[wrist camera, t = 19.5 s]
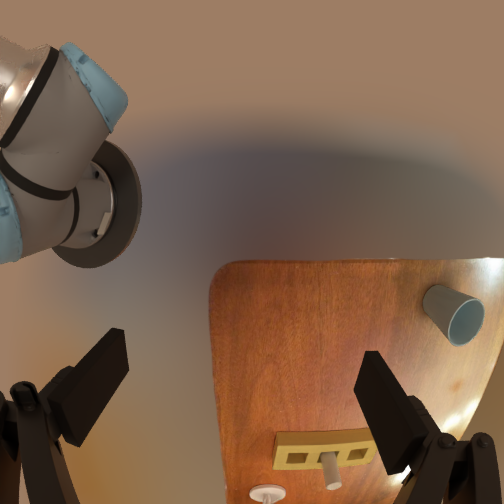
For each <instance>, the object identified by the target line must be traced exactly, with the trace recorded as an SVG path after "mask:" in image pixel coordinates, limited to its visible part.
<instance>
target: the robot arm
mask: <svg viewBox="0 0 504 504" xmlns="http://www.w3.org/2000/svg"><path fill="white" fill-rule="evenodd" d="M127 105H128V98H127V95H126V93H125V92H124V90H123V89H122V88H121V87H120V86H119V85H118V84H117V83H116V82H115V81H114V80H113V79H112V78H111V77H110V76H109V75H108V74H107V73H106V72H105V71H104V70H103V69H102V68H101V67H100V66H99V65H98V64H96V63H95V62H94V61H93V60H92V59H90V58H89V57H88V56H87V55H86V54H85V53H84V52H83V51H82V50H81V49H79V48H78V47H77V46H76V45H74V44H73V43H71V42H68V43H66V44H65V45H63V46H61V47H60V50H59V51H58V50H56V49H55V48H53V47H51V46H50V45H48V44H46V45H43V46H39V47H36V48H34V49H31V50H27V49H25V48H23V47H21V46H19V45H17V44H16V43H14V42H12V41H10V40H8V39H6V38H4V37H2V36H0V147H1V150H0V264H4V263H7V262H16V261H18V260H19V259H21V258H24V257H26V256H29V255H32V254H34V253H37V252H40V251H42V250H45V249H48V248H51V247H54V246H57V245H60V246H65V247H70V248H74V249H83V248H87V247H89V246H92V245H95V244H97V243H98V242H100V241H101V240H102V239H103V238H104V237H105V236H106V235H107V234H108V232H109V231H110V229H111V227H112V225H113V223H114V220H115V216H116V211H117V193H116V188H115V185H114V182H113V180H112V178H111V176H110V174H109V173H108V171H107V170H106V169H105V168H104V167H103V166H102V165H101V164H99V163H97V162H95V161H93V160H92V158H93V157H94V155H95V154H96V152H97V151H98V149H99V148H100V146H101V145H102V143H103V142H104V140H105V139H106V138H107V136H108V135H109V133H110V134H111V133H112V132H113V128H114V126H115V125H116V123H117V121H118V120H119V119H120V117H121V116H122V114H123V113H124V112H125V110H126V108H127ZM128 371H129V365H128V358H127V351H126V343H125V335H124V330H121V329H117V328H111V329H110V330H109V331H108V332H107V333H106V334H105V335H104V336H103V337H102V338H101V339H100V341H98V343H97V344H96V345H95V346H94V347H93V348H92V349H91V350H90V351H89V352H88V353H87V354H86V355H85V356H84V357H83V358H82V359H81V360H80V361H79V363H78V364H77V365H76V366H75V367H71V366H67V367H65V368H63V369H62V370H60V371H59V372H58V373H57V374H56V375H55V377H53V379H52V380H51V382H49V383H48V384H47V385H46V386H45V387H44V388H43V389H42V390H41V391H40V392H39V393H37V390H36V387H35V385H34V384H32V383H31V382H27V381H22V382H18V383H16V384H14V385H13V386H12V387H11V389H10V394H11V396H12V399H13V401H14V402H13V401H8V400H6V399H5V397H4V395H3V393H2V392H1V391H0V504H19V484H20V471H21V462H22V468H23V474H24V479H25V484H26V489H27V493H28V498H29V501H30V504H80V502H79V500H78V498H77V495H76V492H75V489H74V487H73V484H72V481H71V478H70V475H69V472H68V469H67V465H66V462H65V459H64V455H63V452H62V448H61V444H60V442H59V440H58V438H59V437H60V436H61V434H62V435H63V437H64V439H65V441H66V442H67V443H69V444H72V445H74V446H77V447H80V446H81V445H82V443H83V441H84V440H85V438H86V437H87V435H88V433H89V431H90V430H91V429H92V427H93V425H94V424H95V422H96V421H97V419H98V417H99V416H100V414H101V413H102V411H103V410H104V408H105V406H106V405H107V403H108V402H109V400H110V399H111V397H112V396H113V394H114V393H115V391H116V390H117V388H118V386H119V385H120V383H121V382H122V380H123V379H124V377H125V376H126V374H127V373H128ZM354 393H355V395H356V397H357V400H358V402H359V404H360V407H361V409H362V412H363V414H364V416H365V419H366V421H367V424H368V426H369V429H370V431H371V434H372V436H373V439H374V441H375V444H376V446H377V449H378V451H379V454H380V456H381V459H382V461H383V464H384V467H385V469H386V472H387V474H388V475H393V474H397V473H402V472H403V471H404V470H405V468H406V467H407V466H408V465H409V467H410V469H411V471H410V472H409V474H408V475H407V476H406V478H405V479H404V480H403V481H402V483H401V484H403V486H402V488H401V490H400V492H399V494H398V495H397V497H396V499H395V501H394V503H393V504H441V502H442V499H443V504H502V498H501V487H500V477H499V470H498V463H497V456H496V451H495V445H494V441H493V439H492V438H491V436H489V435H488V434H486V433H482V432H479V433H476V434H474V435H473V437H472V438H471V440H470V441H457V440H456V438H455V437H454V436H453V435H451V434H448V433H442V432H441V431H440V429H439V428H438V426H437V425H436V423H435V421H434V420H433V418H432V417H431V415H429V412H428V411H427V409H425V406H424V405H423V403H422V402H421V401H420V400H419V399H418V398H416V397H415V396H414V395H413V396H407V395H406V393H405V392H404V390H403V388H402V387H401V385H400V384H399V382H398V381H397V379H396V378H395V376H394V375H393V373H392V371H391V370H390V368H389V367H388V365H387V364H386V362H385V361H384V359H383V358H382V356H381V355H380V353H379V352H378V351H365V354H364V358H363V361H362V365H361V368H360V371H359V374H358V377H357V381H356V384H355V387H354Z"/></svg>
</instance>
